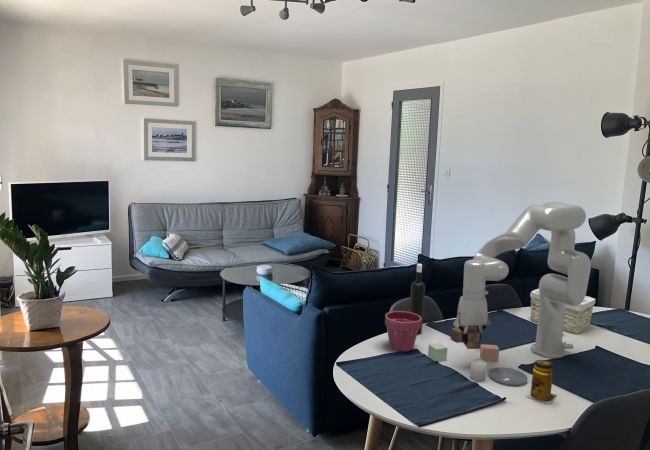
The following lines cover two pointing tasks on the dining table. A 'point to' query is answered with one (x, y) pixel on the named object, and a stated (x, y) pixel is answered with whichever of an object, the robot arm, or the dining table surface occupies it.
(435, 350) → the sage cube
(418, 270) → the wine bottle
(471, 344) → the walnut block
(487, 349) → the terracotta brick
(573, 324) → the storage basket
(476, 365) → the grey cylinder
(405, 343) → the plant pot
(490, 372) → the slate coaster
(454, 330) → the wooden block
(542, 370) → the condiment
